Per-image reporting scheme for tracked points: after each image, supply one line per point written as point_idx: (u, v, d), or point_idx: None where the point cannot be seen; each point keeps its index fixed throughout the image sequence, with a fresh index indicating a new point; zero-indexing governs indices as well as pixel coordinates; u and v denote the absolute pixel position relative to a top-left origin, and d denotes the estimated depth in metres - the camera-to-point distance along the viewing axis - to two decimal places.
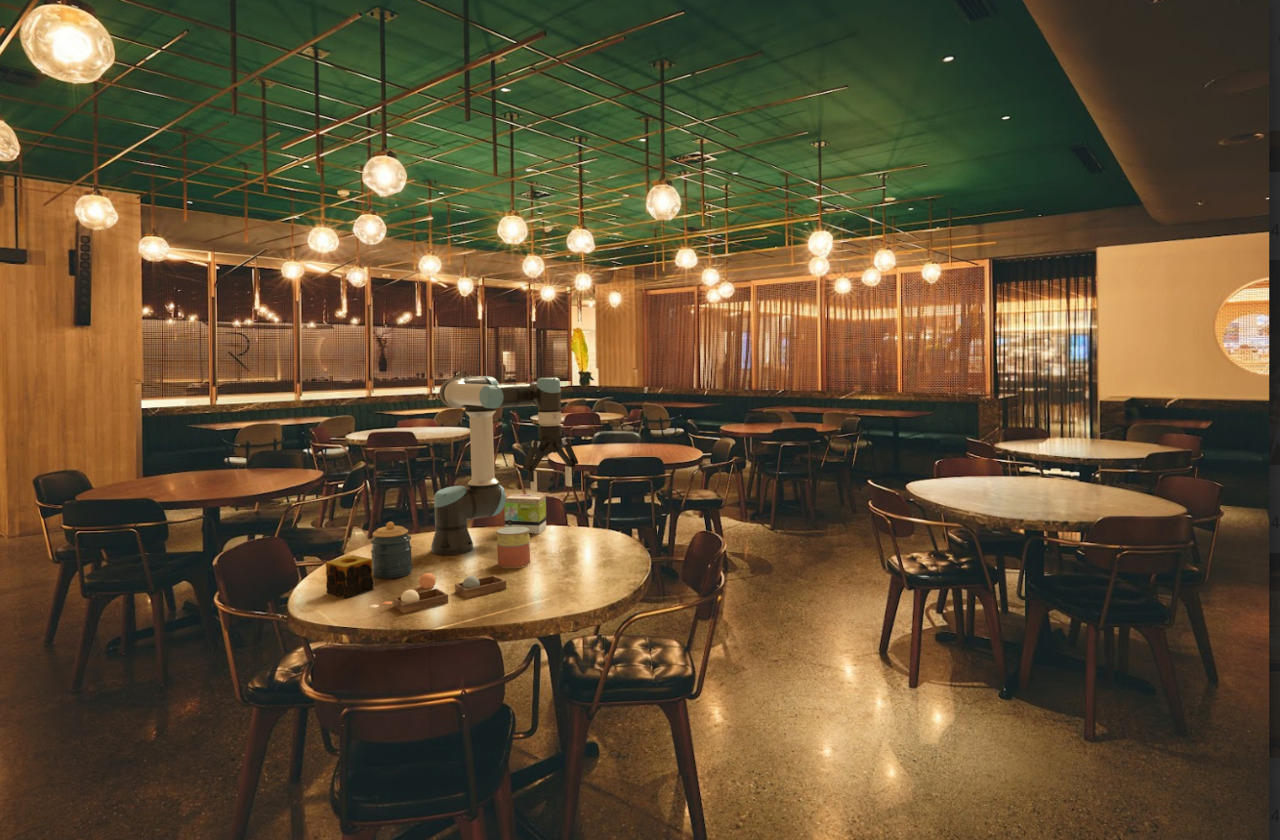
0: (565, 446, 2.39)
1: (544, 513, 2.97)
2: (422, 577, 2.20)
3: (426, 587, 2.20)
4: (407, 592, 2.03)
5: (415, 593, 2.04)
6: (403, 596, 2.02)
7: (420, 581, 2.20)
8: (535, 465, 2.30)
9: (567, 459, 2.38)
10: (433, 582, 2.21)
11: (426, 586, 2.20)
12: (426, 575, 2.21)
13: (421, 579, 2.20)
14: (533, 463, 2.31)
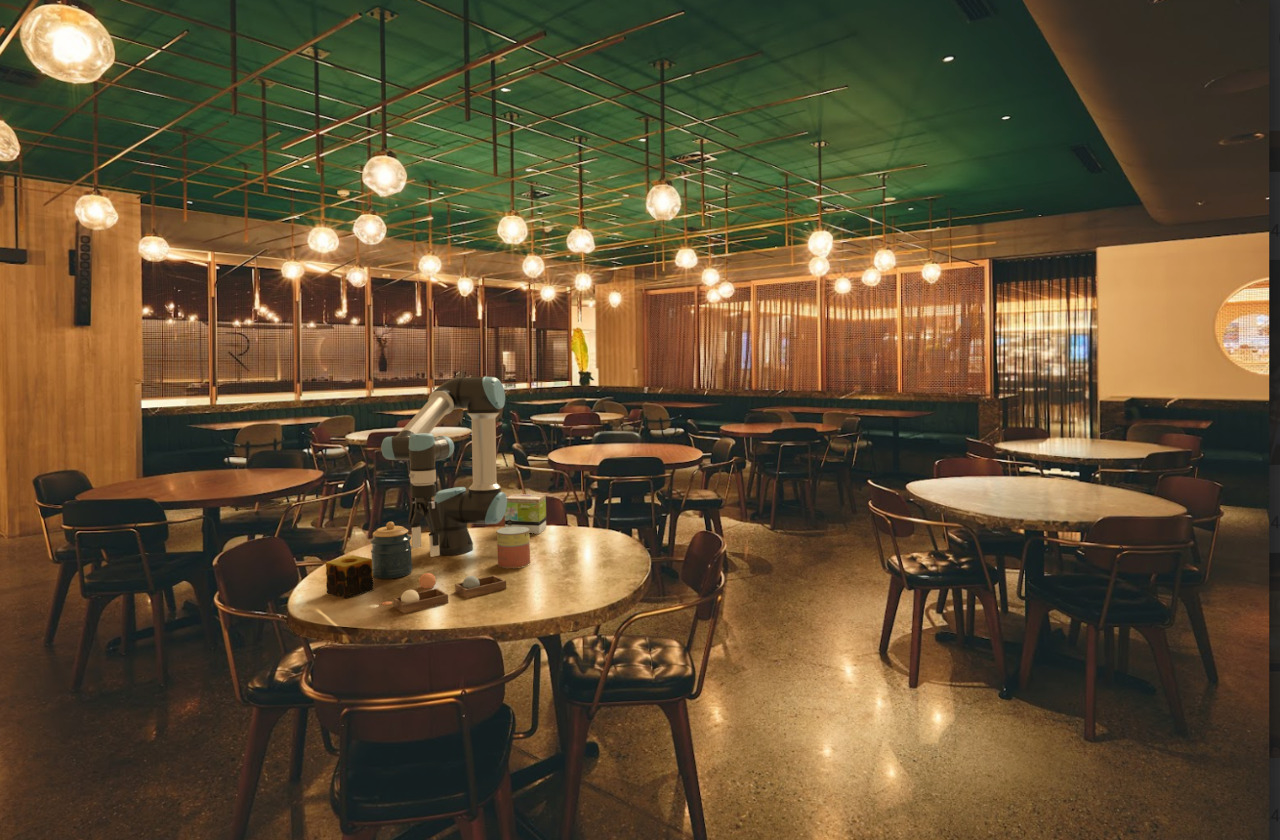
0: None
1: (544, 513, 2.97)
2: (422, 577, 2.20)
3: (426, 587, 2.20)
4: (407, 592, 2.03)
5: (415, 593, 2.04)
6: (403, 596, 2.02)
7: (420, 581, 2.20)
8: (412, 521, 2.25)
9: (428, 525, 2.15)
10: (433, 582, 2.21)
11: (426, 586, 2.20)
12: (426, 575, 2.21)
13: (421, 579, 2.20)
14: None
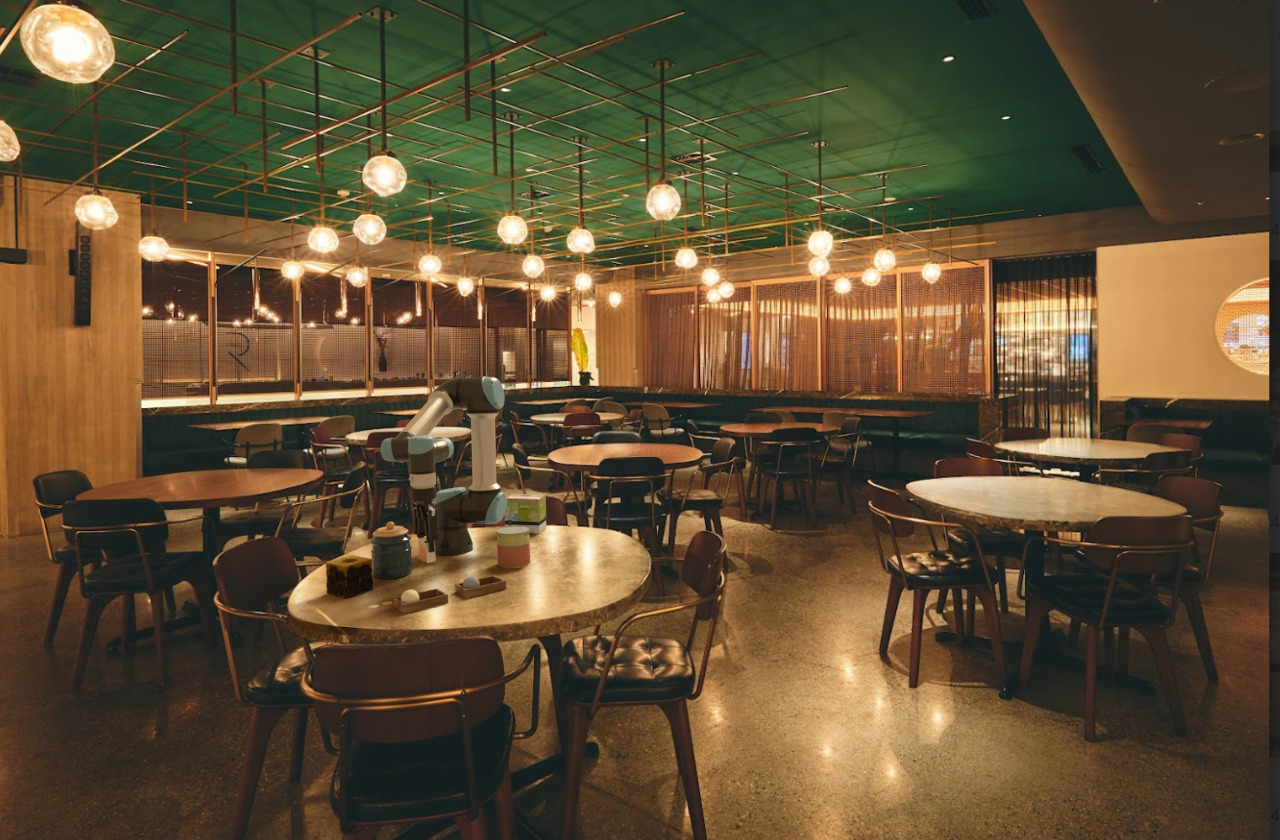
0: None
1: (544, 513, 2.97)
2: (421, 549, 2.20)
3: (425, 559, 2.20)
4: (407, 592, 2.03)
5: (415, 593, 2.04)
6: (403, 596, 2.02)
7: (419, 553, 2.20)
8: (417, 530, 2.23)
9: (425, 531, 2.18)
10: None
11: (425, 558, 2.19)
12: (425, 547, 2.20)
13: (420, 551, 2.20)
14: None
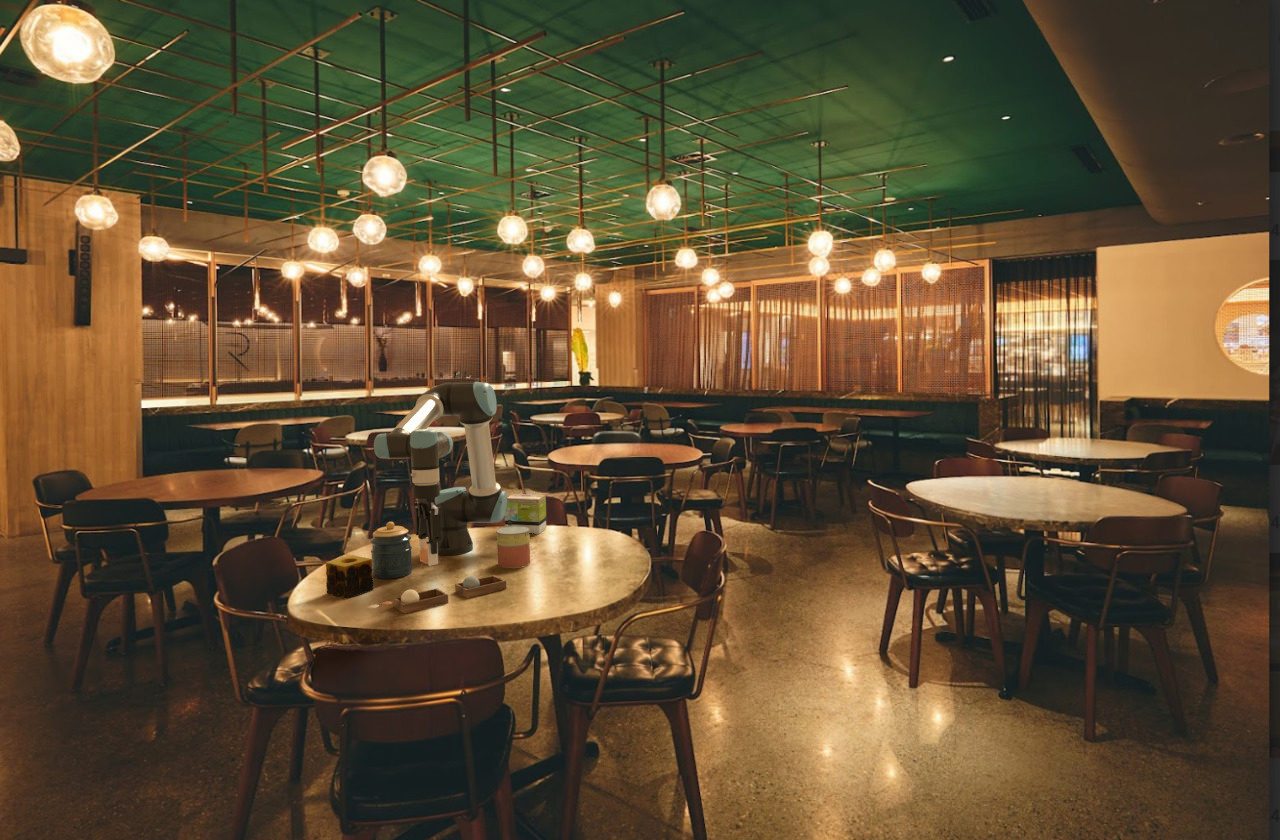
0: None
1: (544, 513, 2.97)
2: (423, 550, 2.05)
3: (427, 561, 2.05)
4: (407, 592, 2.03)
5: (415, 593, 2.04)
6: (403, 596, 2.02)
7: (420, 554, 2.05)
8: (419, 531, 2.08)
9: (428, 531, 2.04)
10: None
11: (427, 560, 2.05)
12: (427, 548, 2.06)
13: (421, 552, 2.05)
14: None
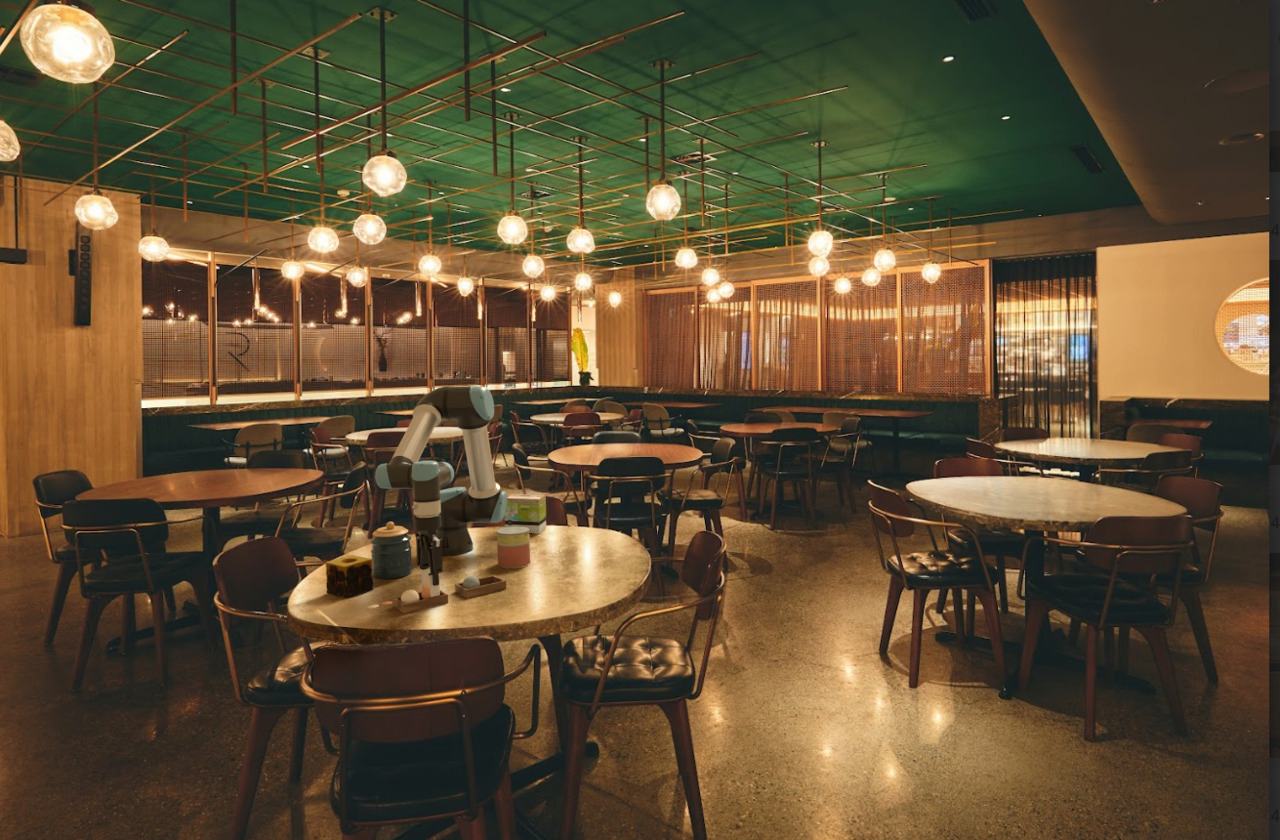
0: None
1: (544, 513, 2.97)
2: (424, 589, 2.07)
3: None
4: (407, 592, 2.03)
5: (415, 593, 2.04)
6: (403, 596, 2.02)
7: (422, 594, 2.06)
8: (420, 561, 2.09)
9: (429, 563, 2.04)
10: None
11: None
12: (429, 587, 2.07)
13: (423, 591, 2.06)
14: None
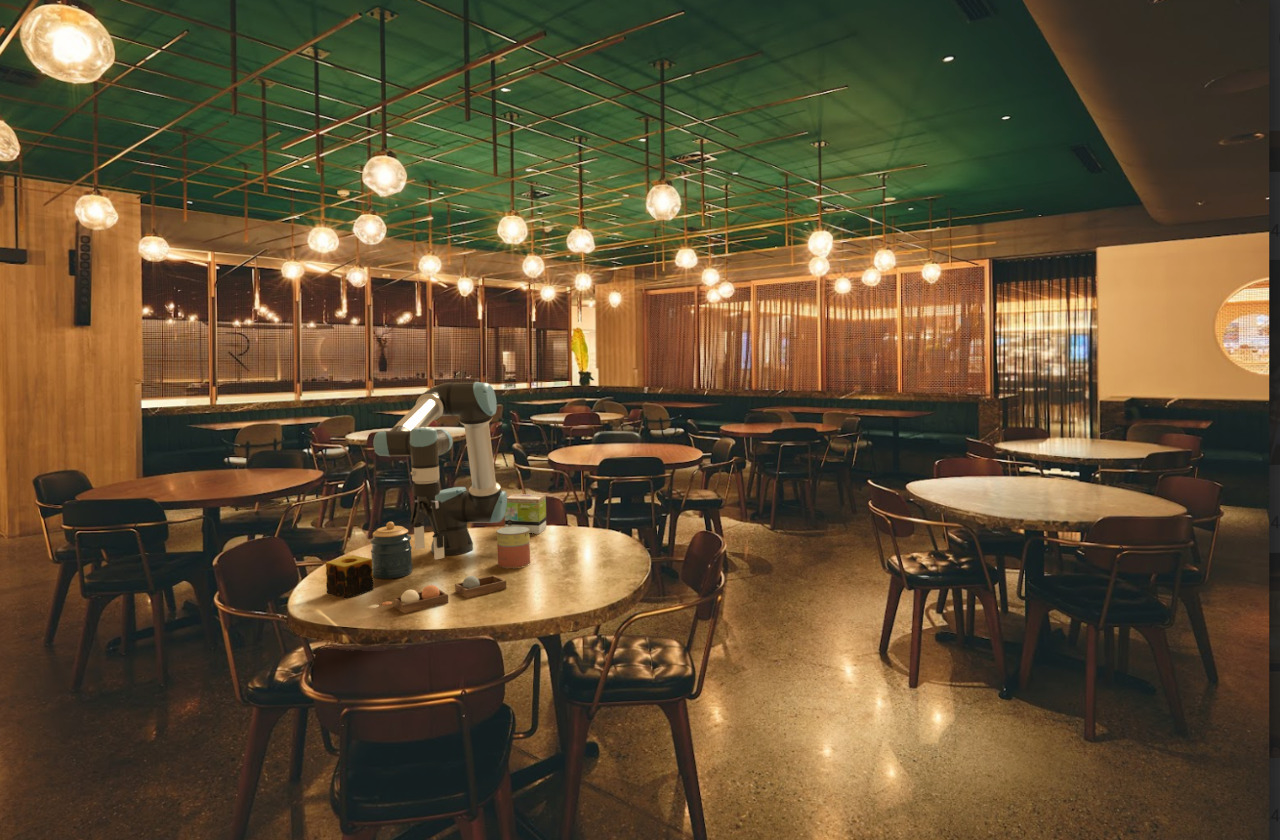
0: None
1: (544, 513, 2.97)
2: (425, 589, 2.07)
3: None
4: (407, 592, 2.03)
5: (415, 593, 2.04)
6: (403, 596, 2.02)
7: (423, 593, 2.06)
8: (414, 521, 2.11)
9: (432, 526, 2.01)
10: (437, 594, 2.07)
11: None
12: (429, 587, 2.07)
13: (424, 591, 2.06)
14: None
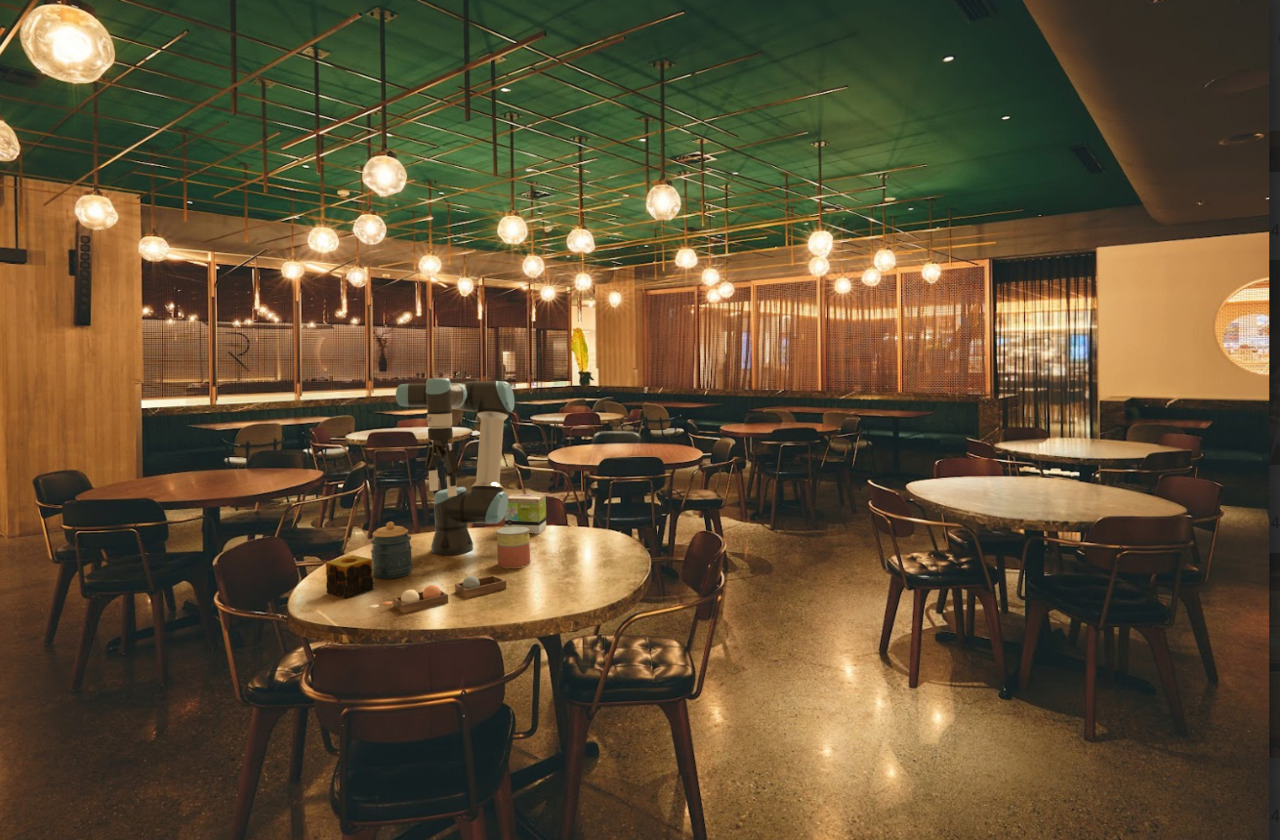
0: None
1: (544, 513, 2.97)
2: (427, 588, 2.07)
3: None
4: (407, 592, 2.03)
5: (415, 593, 2.04)
6: (403, 596, 2.02)
7: (424, 592, 2.06)
8: (429, 464, 2.32)
9: (446, 466, 2.22)
10: (438, 595, 2.07)
11: None
12: (431, 587, 2.07)
13: (426, 590, 2.06)
14: None
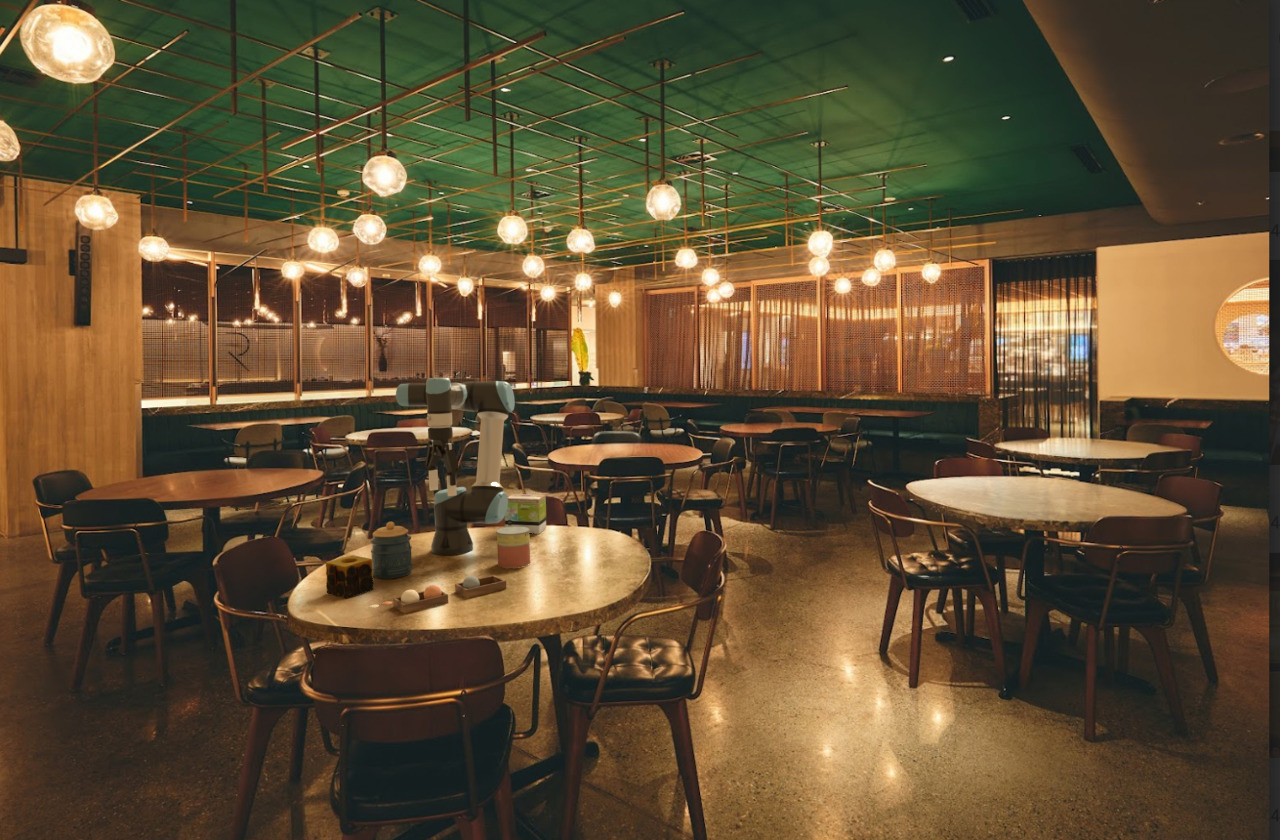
0: None
1: (544, 513, 2.97)
2: (428, 588, 2.07)
3: None
4: (407, 592, 2.03)
5: (415, 593, 2.04)
6: (403, 596, 2.02)
7: (425, 592, 2.06)
8: (429, 464, 2.32)
9: (446, 466, 2.22)
10: None
11: None
12: (433, 587, 2.07)
13: (427, 590, 2.06)
14: None
